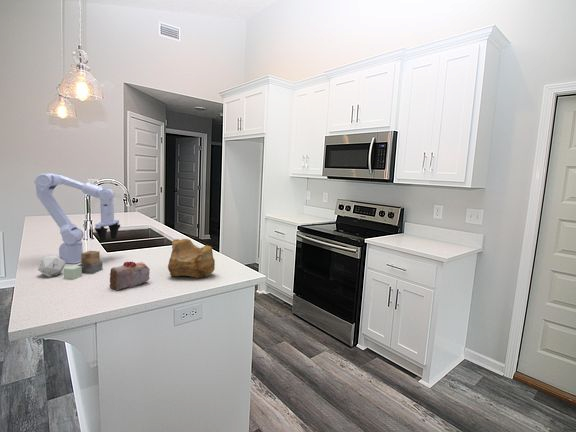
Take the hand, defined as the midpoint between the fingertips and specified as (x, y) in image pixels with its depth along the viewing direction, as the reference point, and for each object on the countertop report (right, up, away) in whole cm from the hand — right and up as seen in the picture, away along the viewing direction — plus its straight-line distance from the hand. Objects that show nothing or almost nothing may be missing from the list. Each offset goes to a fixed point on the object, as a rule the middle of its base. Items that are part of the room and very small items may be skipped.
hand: (108, 240), depth 161 cm
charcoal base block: (+1, -13, -16) cm, 20 cm away
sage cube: (-1, -14, -25) cm, 28 cm away
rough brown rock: (+43, -15, -15) cm, 48 cm away
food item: (+26, -16, -30) cm, 43 cm away
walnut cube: (+1, -9, -16) cm, 19 cm away
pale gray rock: (-12, -13, -23) cm, 29 cm away
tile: (-6, -12, -11) cm, 17 cm away
